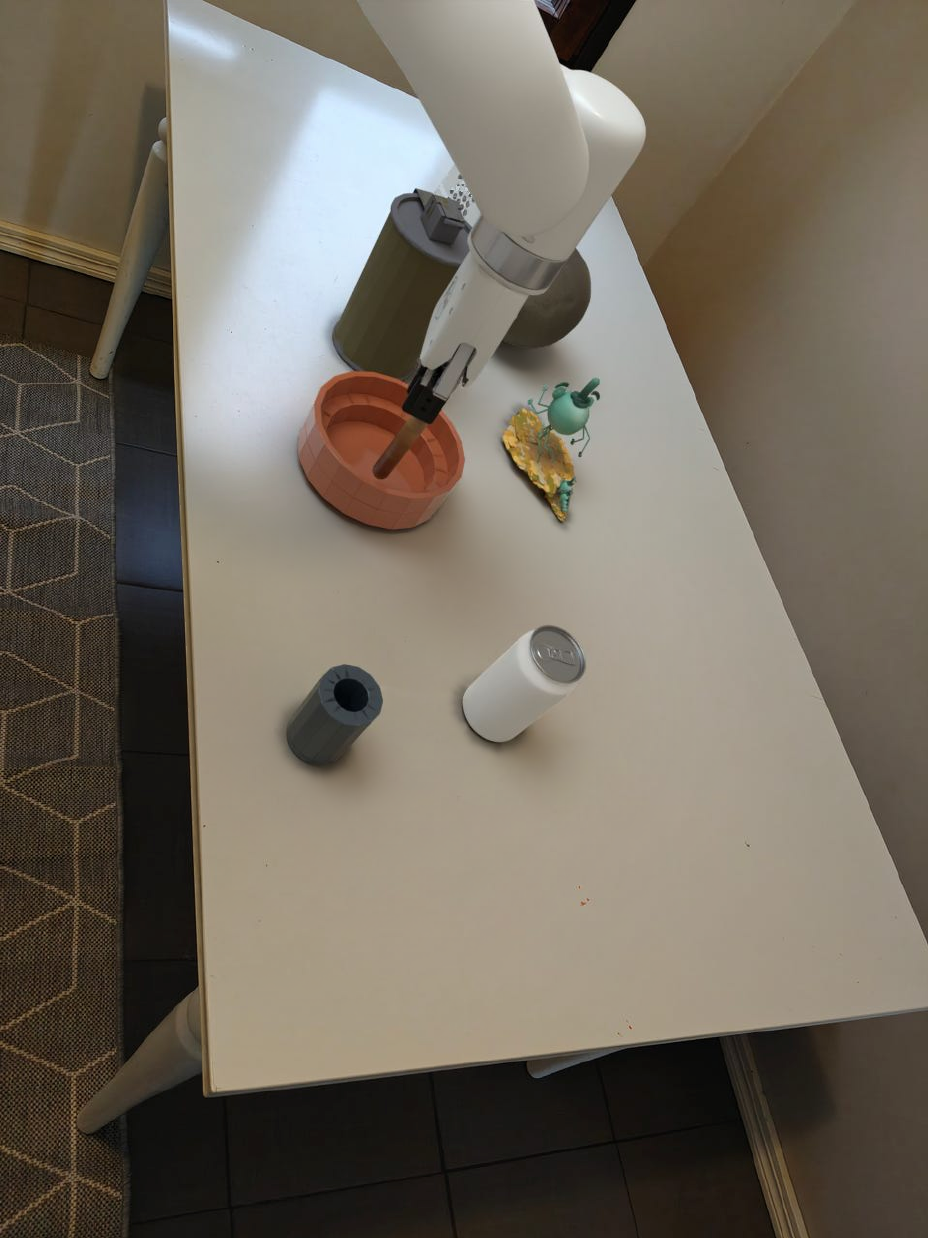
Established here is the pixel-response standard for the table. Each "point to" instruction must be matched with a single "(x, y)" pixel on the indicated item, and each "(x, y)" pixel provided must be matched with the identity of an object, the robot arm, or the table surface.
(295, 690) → the table surface
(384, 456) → the stick
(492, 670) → the can
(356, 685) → the utensil pot
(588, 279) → the cantaloupe
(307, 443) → the bowl
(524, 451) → the insect on leaf figurine
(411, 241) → the canister
